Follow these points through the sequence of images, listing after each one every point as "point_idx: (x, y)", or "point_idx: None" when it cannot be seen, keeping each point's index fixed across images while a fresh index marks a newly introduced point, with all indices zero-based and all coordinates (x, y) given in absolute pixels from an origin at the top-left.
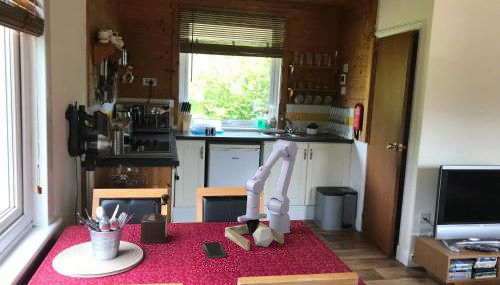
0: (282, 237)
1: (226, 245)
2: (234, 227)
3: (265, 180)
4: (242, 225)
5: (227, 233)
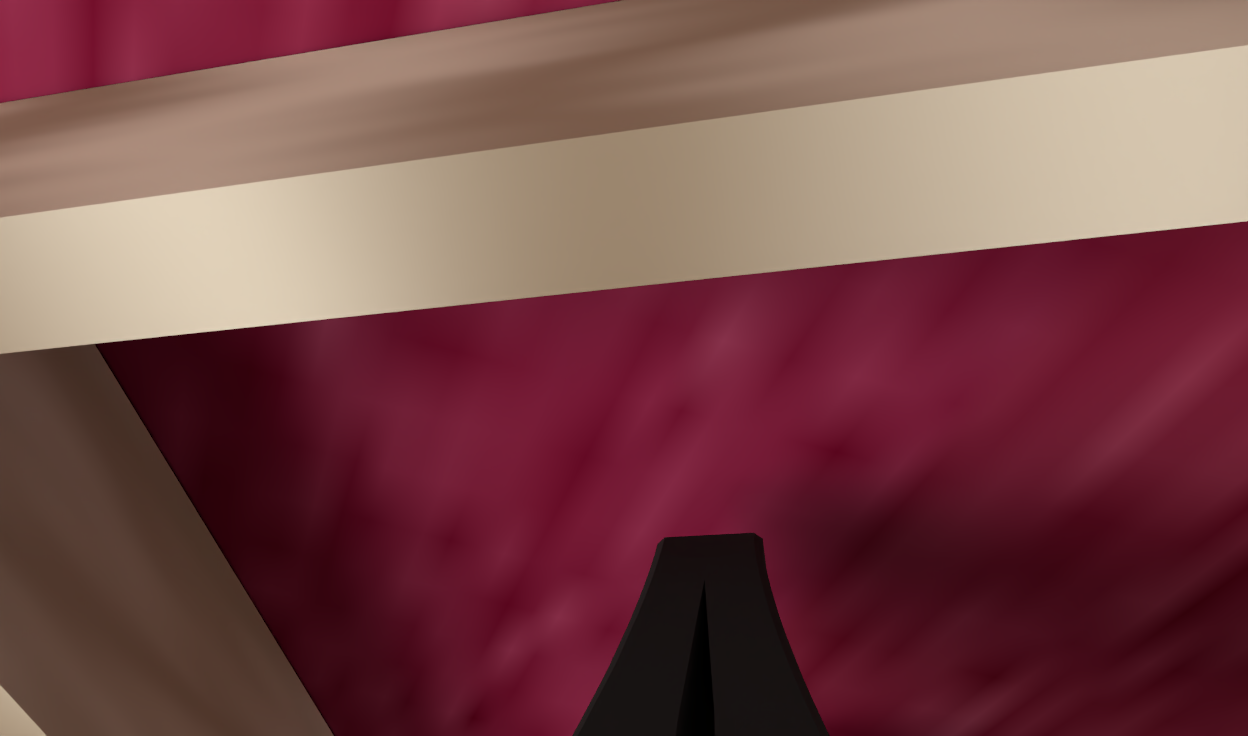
0: None
1: None
2: (18, 347)
3: None
4: (511, 223)
5: None
